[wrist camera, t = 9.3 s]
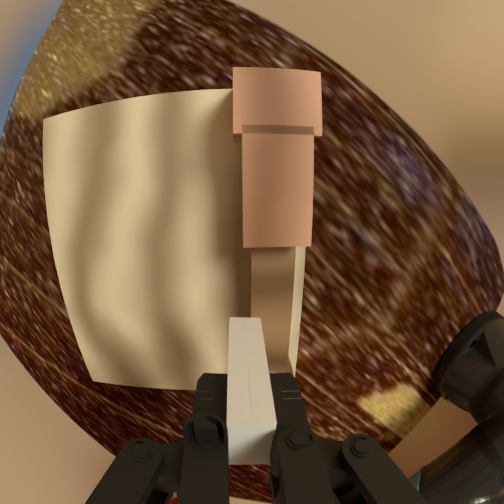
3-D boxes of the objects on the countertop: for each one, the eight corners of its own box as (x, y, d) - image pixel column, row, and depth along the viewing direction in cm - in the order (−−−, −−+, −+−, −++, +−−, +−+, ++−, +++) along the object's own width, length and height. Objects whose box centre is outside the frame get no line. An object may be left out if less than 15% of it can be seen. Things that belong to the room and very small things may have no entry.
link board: (302, 95, 20) (328, 73, 14) (290, 376, 28) (302, 422, 22) (52, 120, 18) (7, 115, 12) (97, 372, 27) (77, 411, 21)
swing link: (287, 376, 26) (296, 415, 21) (242, 379, 25) (244, 419, 20) (300, 168, 20) (321, 170, 15) (239, 167, 20) (241, 168, 15)
